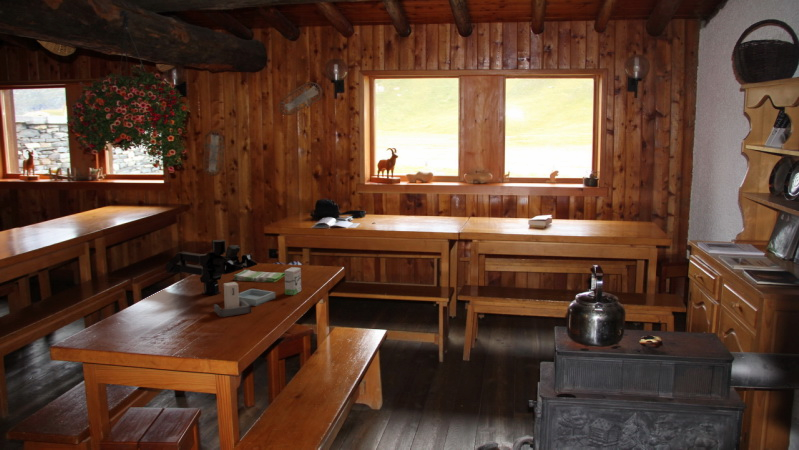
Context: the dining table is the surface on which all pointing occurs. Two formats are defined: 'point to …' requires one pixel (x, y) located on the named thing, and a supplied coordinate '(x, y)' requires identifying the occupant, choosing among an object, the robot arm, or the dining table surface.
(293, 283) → the ink box
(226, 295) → the tall beige block
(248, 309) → the bay
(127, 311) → the dining table surface
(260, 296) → the tray
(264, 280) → the dish towel
